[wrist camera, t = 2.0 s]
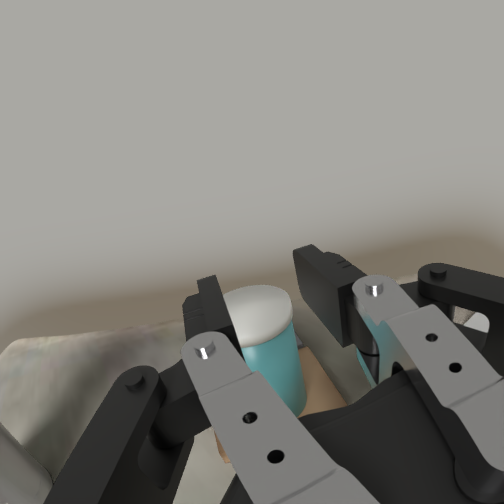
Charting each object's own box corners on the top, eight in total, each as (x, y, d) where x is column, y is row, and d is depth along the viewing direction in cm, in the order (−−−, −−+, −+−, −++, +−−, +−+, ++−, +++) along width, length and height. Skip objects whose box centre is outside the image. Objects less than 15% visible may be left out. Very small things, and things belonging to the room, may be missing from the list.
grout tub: (247, 439, 25) (207, 348, 21) (232, 389, 31) (198, 301, 27) (320, 412, 26) (304, 316, 21) (294, 368, 32) (274, 276, 28)
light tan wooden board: (225, 463, 24) (219, 452, 24) (209, 392, 34) (203, 381, 33) (348, 418, 26) (348, 406, 25) (309, 358, 35) (307, 346, 35)
